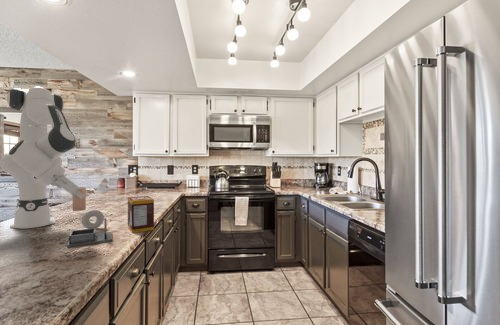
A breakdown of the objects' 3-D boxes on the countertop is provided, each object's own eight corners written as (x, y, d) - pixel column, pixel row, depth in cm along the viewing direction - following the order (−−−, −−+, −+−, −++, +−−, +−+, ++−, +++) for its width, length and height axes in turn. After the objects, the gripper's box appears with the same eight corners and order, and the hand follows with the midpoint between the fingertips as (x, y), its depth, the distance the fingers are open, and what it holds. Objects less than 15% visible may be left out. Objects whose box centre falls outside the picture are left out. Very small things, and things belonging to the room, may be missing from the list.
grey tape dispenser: (70, 238, 116) (70, 220, 116) (111, 233, 124) (111, 217, 124) (67, 247, 105) (67, 227, 105) (112, 241, 113) (112, 223, 113)
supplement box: (148, 223, 144) (147, 195, 144) (154, 230, 131) (154, 199, 131) (127, 226, 139) (127, 196, 138) (131, 233, 126) (131, 200, 125)
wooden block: (73, 209, 113) (73, 187, 113) (86, 208, 115) (86, 187, 115) (71, 211, 109) (71, 188, 109) (85, 210, 111) (85, 188, 111)
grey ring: (81, 231, 128) (81, 211, 128) (80, 230, 131) (80, 210, 130) (104, 228, 134) (104, 208, 134) (103, 226, 137) (103, 207, 137)
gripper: (63, 170, 100) (93, 193, 107) (55, 168, 115) (81, 189, 121) (49, 182, 97) (80, 205, 104) (42, 179, 111) (70, 199, 118)
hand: (81, 196), depth 113 cm, fingers closed on wooden block, 5 cm apart
